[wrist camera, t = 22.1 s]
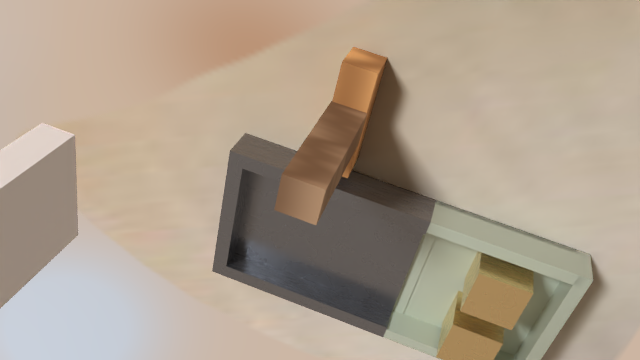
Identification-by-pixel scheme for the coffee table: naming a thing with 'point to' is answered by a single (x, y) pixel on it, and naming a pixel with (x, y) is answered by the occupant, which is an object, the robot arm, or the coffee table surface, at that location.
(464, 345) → the tan cube
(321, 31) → the coffee table surface
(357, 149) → the bent wooden stick
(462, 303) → the light brown cube
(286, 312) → the coffee table surface
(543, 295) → the tray
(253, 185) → the dark grey shallow tray
